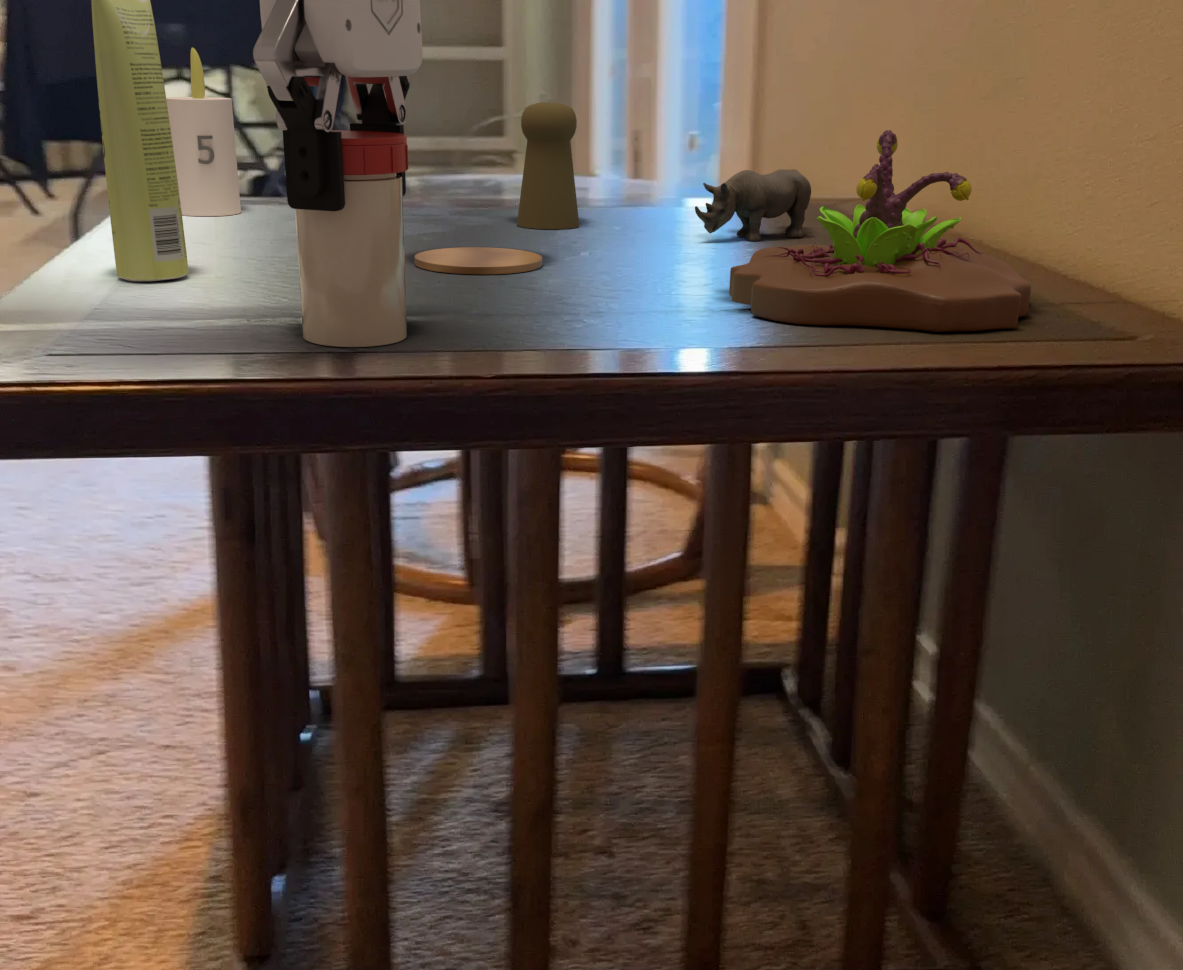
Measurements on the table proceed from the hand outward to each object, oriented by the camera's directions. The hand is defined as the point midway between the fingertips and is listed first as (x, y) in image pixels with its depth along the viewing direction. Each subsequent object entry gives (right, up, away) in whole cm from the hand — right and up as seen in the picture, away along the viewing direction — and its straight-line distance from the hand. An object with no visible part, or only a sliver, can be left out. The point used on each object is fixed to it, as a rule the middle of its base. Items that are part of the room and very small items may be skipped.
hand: (349, 199), depth 73 cm
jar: (0, -7, +3) cm, 8 cm away
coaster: (+5, +4, +29) cm, 29 cm away
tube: (-18, 0, +20) cm, 27 cm away
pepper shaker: (+9, +13, +51) cm, 54 cm away
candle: (-24, +15, +54) cm, 62 cm away
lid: (0, +3, -1) cm, 3 cm away
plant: (+33, -2, +17) cm, 37 cm away
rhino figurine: (+28, +10, +46) cm, 55 cm away
